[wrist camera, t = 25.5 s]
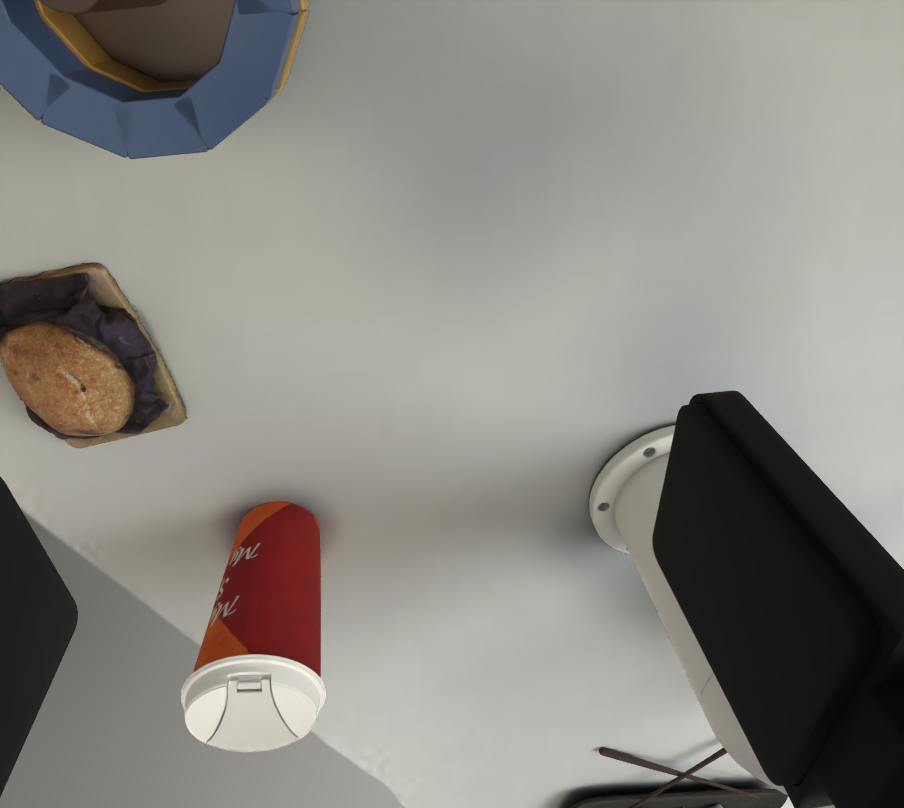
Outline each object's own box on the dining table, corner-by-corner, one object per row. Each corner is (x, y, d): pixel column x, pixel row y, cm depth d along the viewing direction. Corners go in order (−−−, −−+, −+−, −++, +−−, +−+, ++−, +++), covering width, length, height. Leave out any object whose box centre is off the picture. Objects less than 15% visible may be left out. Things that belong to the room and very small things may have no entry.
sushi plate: (540, 840, 80) (547, 875, 77) (609, 710, 64) (621, 747, 61) (741, 827, 85) (755, 859, 82) (851, 704, 69) (874, 738, 66)
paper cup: (220, 488, 42) (166, 680, 30) (336, 491, 43) (326, 675, 32) (228, 567, 46) (182, 762, 35) (333, 567, 47) (323, 755, 36)
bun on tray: (198, 415, 39) (185, 452, 36) (66, 445, 39) (42, 485, 36) (113, 255, 32) (88, 284, 29) (-43, 291, 32) (-84, 323, 29)
